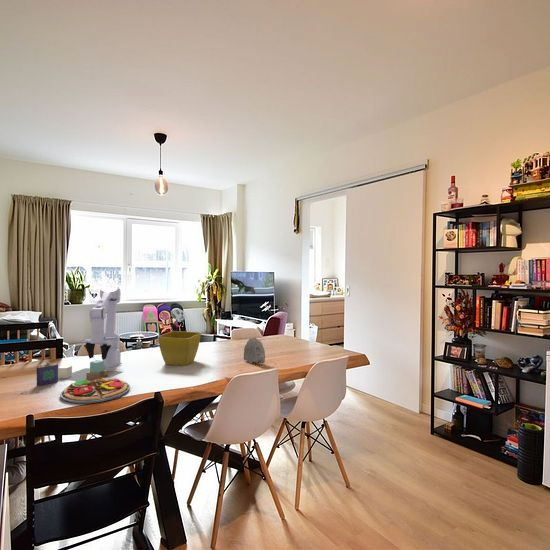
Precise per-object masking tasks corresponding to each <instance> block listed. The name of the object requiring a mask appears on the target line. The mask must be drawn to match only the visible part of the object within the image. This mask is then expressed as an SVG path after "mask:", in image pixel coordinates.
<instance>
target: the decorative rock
mask: <svg viewBox="0 0 550 550" xmlns="http://www.w3.org/2000/svg"><path fill="white" fill-rule="evenodd" d="M243 360H244V361H246V362H248V363H250V364H252V365H253V364H254V365H255V364H265V362H266V351H265V349H264V346H263V343H262V341H261V340H259V339H258V338H257V337H252V338H249V339H248V340H247V342H246V344H245V346H244V348H243Z"/></svg>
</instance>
